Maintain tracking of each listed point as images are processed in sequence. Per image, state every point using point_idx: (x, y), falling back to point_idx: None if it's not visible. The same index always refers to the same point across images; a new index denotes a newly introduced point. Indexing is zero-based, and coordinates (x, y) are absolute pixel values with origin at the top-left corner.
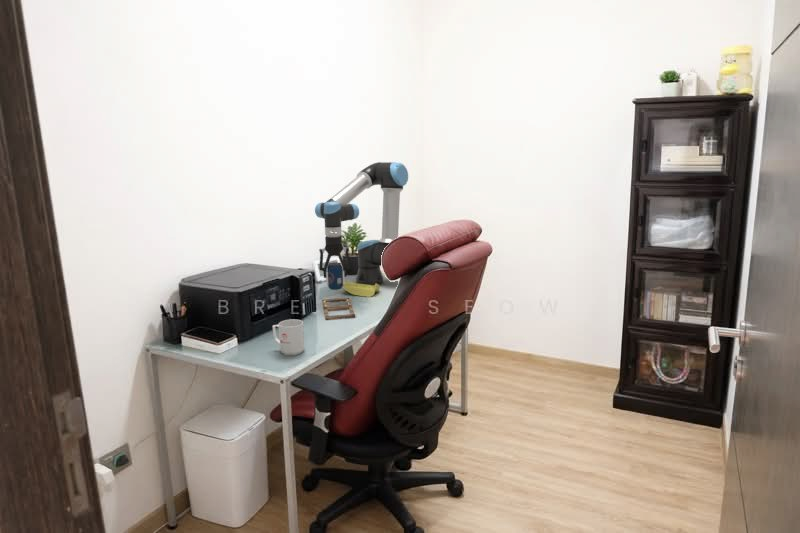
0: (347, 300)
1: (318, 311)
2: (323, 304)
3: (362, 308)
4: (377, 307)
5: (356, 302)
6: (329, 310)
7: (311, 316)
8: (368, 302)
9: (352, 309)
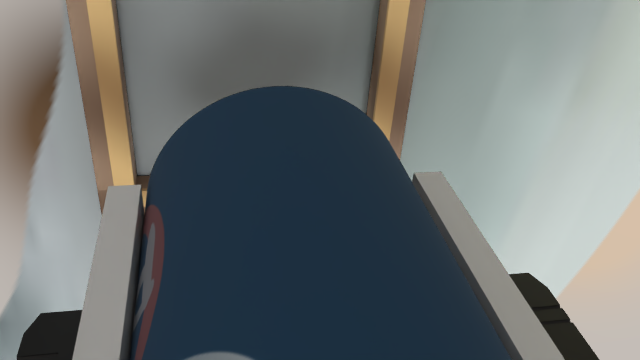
0: (394, 27)
1: (52, 236)
2: (89, 103)
3: None
4: (588, 217)
5: (483, 23)
6: None
7: (4, 344)
8: (592, 57)
9: None
